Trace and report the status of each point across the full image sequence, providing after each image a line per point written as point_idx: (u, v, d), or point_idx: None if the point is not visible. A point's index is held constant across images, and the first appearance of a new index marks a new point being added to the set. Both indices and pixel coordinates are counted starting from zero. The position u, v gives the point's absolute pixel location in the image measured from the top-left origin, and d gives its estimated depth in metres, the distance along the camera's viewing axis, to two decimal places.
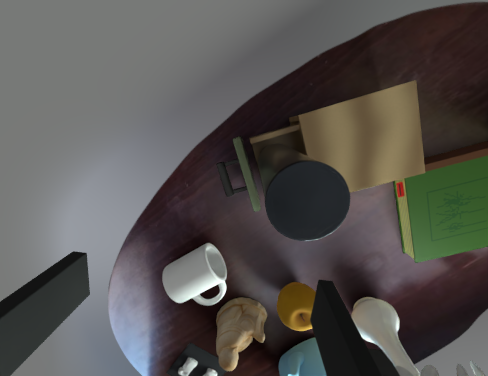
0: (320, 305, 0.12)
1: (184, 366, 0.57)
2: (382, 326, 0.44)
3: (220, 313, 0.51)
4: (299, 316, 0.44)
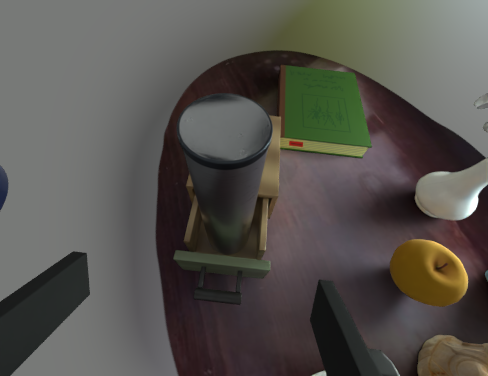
0: (320, 305, 0.12)
1: None
2: (449, 183, 0.38)
3: None
4: (441, 271, 0.31)
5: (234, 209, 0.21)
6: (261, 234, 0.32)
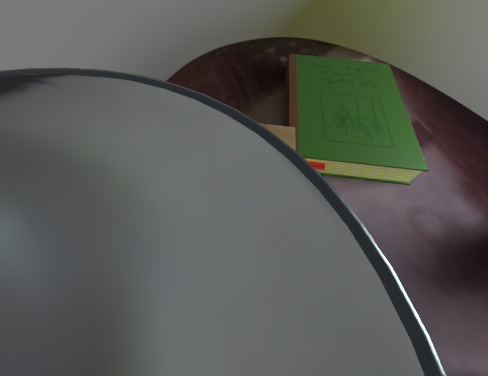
0: None
1: None
2: None
3: None
4: None
5: None
6: None
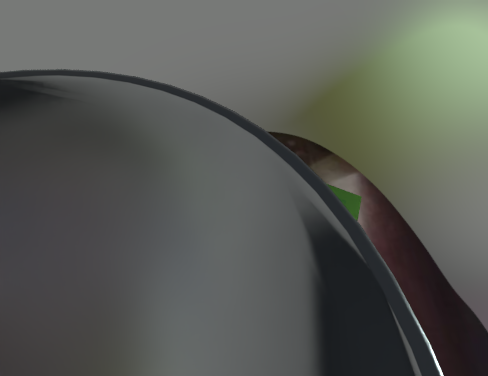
0: None
1: None
2: None
3: None
4: None
5: None
6: None
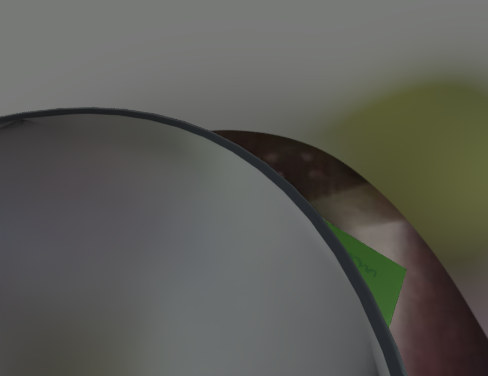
0: None
1: None
2: None
3: None
4: None
5: None
6: None
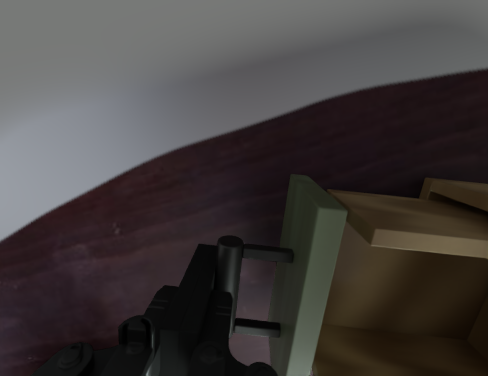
0: None
1: None
2: None
3: None
4: None
5: None
6: None
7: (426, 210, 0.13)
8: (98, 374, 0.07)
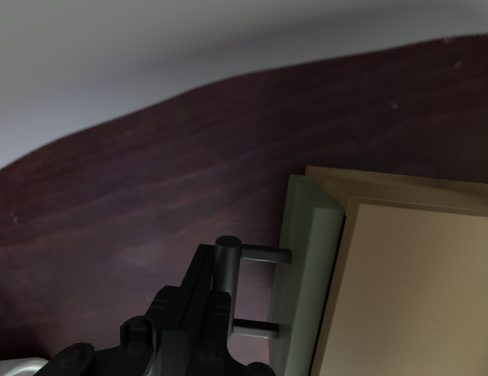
0: None
1: None
2: None
3: None
4: None
5: None
6: None
7: None
8: (100, 374, 0.07)
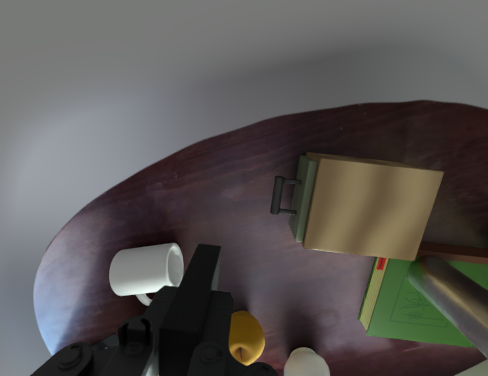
0: None
1: None
2: None
3: None
4: (238, 350, 0.41)
5: None
6: None
7: None
8: (98, 374, 0.07)
